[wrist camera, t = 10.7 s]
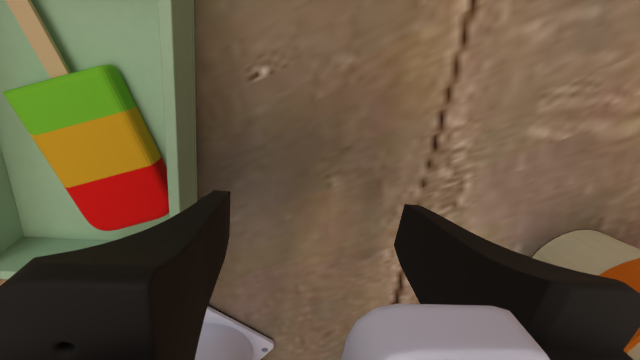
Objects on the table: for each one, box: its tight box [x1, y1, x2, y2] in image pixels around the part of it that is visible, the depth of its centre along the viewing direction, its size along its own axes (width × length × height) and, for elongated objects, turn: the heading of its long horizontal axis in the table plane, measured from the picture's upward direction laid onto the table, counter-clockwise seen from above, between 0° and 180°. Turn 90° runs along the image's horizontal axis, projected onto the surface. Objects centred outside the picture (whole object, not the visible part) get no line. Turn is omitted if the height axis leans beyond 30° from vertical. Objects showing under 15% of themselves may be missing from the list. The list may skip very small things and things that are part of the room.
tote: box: [0, 0, 197, 279], centre depth 17 cm, size 20×12×4 cm, turn 172°
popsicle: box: [3, 0, 169, 231], centre depth 18 cm, size 6×15×2 cm, turn 14°
